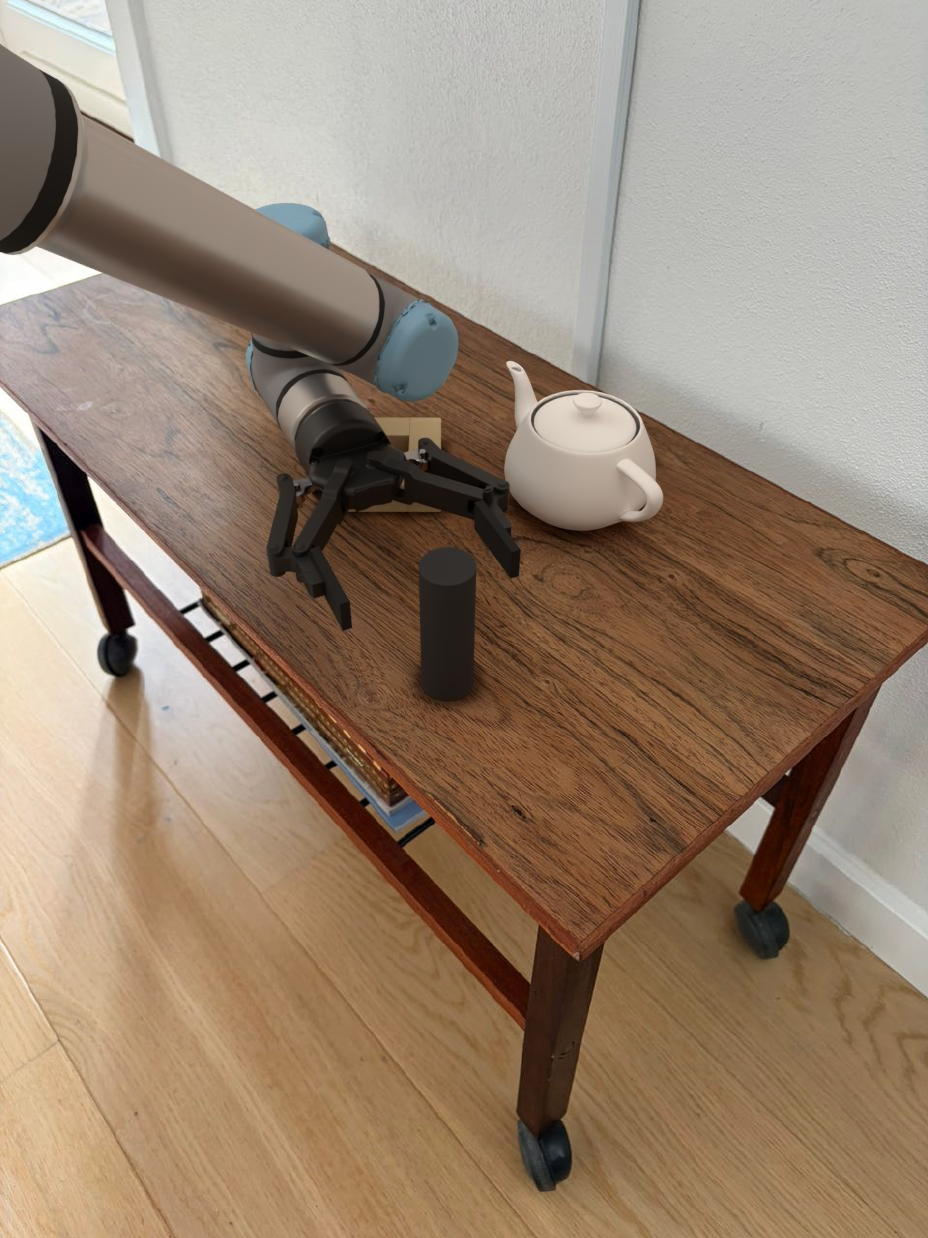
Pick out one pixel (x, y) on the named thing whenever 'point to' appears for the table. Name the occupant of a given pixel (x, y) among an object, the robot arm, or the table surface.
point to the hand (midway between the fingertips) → (433, 590)
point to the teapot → (580, 458)
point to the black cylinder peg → (447, 622)
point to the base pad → (405, 439)
